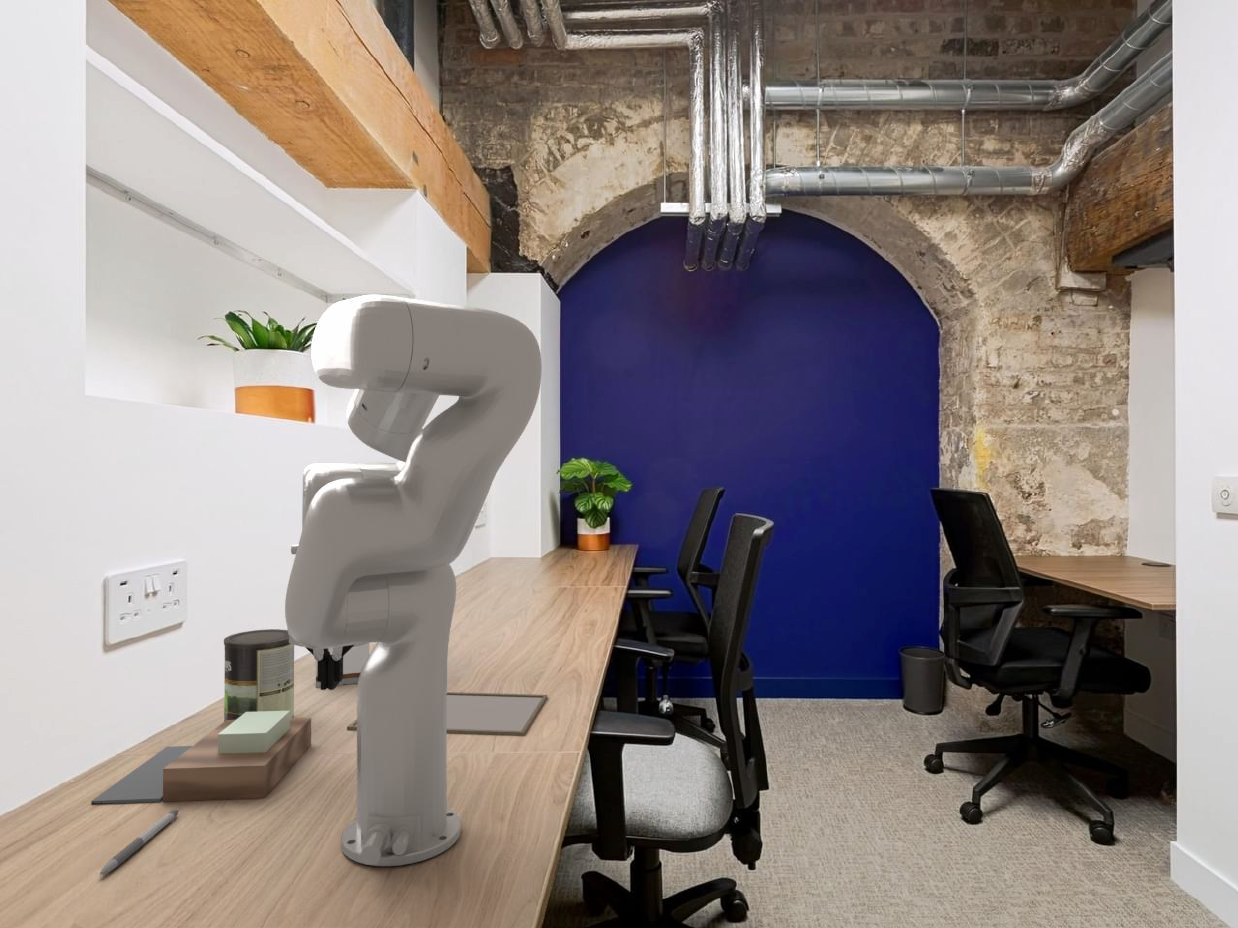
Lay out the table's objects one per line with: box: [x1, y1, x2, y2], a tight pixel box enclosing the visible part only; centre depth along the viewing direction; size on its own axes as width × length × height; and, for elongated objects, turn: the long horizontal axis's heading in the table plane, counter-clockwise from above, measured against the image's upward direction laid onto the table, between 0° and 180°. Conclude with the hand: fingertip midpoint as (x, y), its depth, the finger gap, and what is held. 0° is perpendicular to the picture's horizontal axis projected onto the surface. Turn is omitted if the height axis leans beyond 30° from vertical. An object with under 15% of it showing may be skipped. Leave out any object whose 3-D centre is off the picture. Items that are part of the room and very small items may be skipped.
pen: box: [99, 808, 180, 875], centre depth 82 cm, size 1×14×1 cm, turn 2°
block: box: [218, 711, 290, 754], centre depth 102 cm, size 9×6×2 cm, turn 5°
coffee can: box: [223, 628, 295, 722], centre depth 120 cm, size 10×10×14 cm
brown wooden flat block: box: [162, 717, 312, 803], centre depth 102 cm, size 18×12×4 cm, turn 5°
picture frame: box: [346, 691, 548, 737], centre depth 126 cm, size 19×1×28 cm
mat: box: [90, 745, 193, 805], centre depth 101 cm, size 18×8×1 cm, turn 5°
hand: (330, 686), depth 104 cm, fingers closed
